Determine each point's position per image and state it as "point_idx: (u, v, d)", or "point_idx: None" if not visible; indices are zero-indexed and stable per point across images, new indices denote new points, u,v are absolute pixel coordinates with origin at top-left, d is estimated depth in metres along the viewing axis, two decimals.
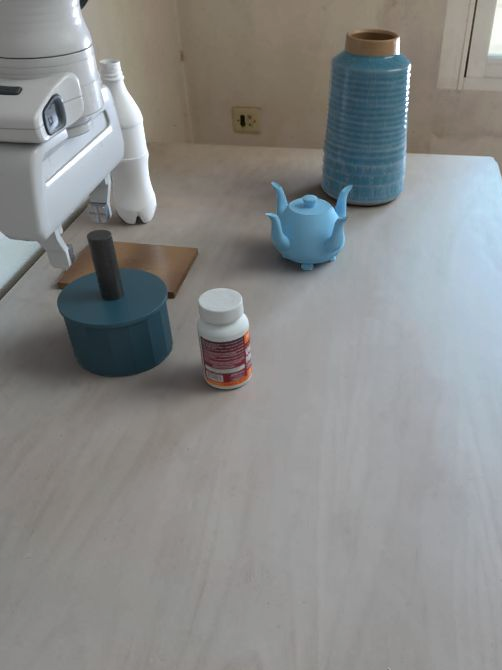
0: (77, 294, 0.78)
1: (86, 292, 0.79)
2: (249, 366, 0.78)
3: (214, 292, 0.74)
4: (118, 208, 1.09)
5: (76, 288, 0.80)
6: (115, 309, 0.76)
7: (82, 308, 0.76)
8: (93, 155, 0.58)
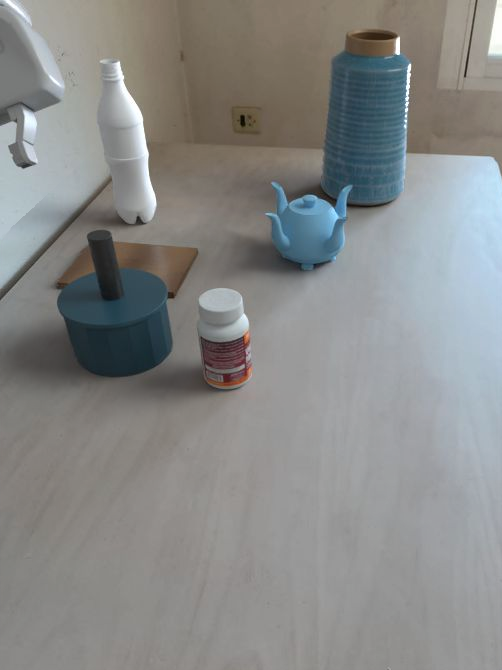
0: (77, 294, 0.78)
1: (86, 292, 0.79)
2: (249, 366, 0.78)
3: (214, 292, 0.74)
4: (118, 208, 1.09)
5: (76, 288, 0.80)
6: (115, 309, 0.76)
7: (82, 308, 0.76)
8: None
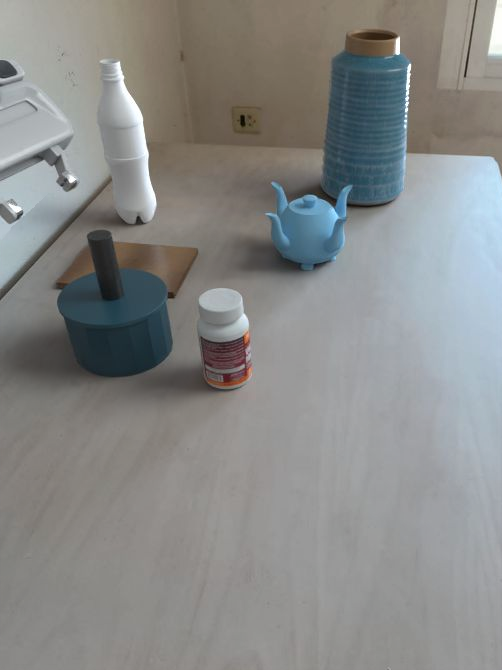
0: (77, 294, 0.78)
1: (86, 292, 0.79)
2: (249, 366, 0.78)
3: (214, 292, 0.74)
4: (118, 208, 1.09)
5: (76, 288, 0.80)
6: (115, 309, 0.76)
7: (82, 308, 0.76)
8: None
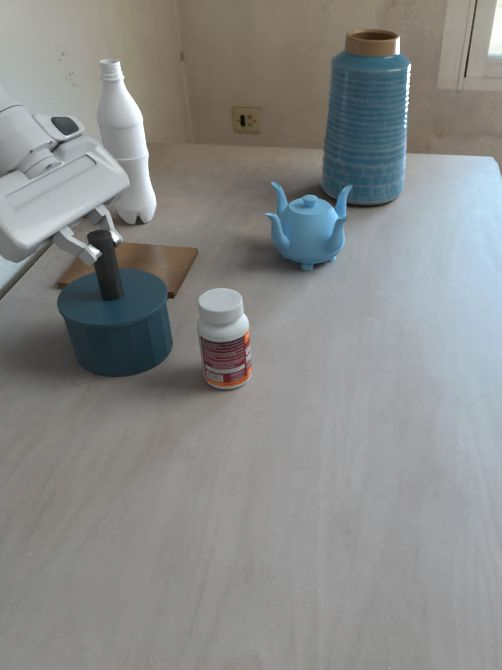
0: (77, 294, 0.78)
1: (86, 292, 0.79)
2: (249, 366, 0.78)
3: (214, 292, 0.74)
4: (118, 208, 1.09)
5: (76, 288, 0.80)
6: (115, 309, 0.76)
7: (82, 308, 0.76)
8: None
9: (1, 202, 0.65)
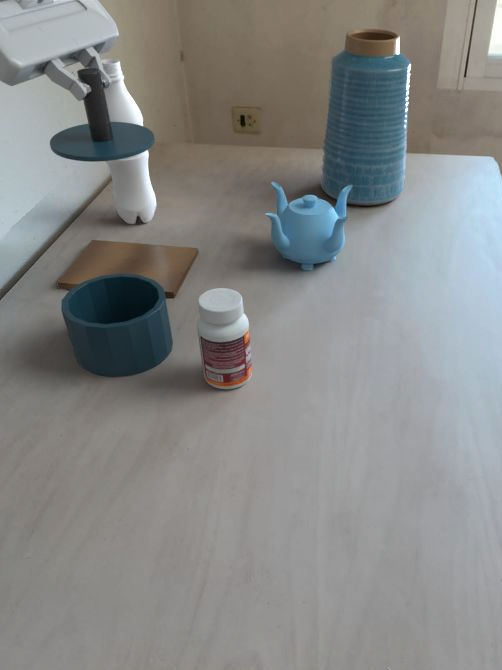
0: (68, 138, 0.83)
1: (77, 136, 0.84)
2: (249, 366, 0.78)
3: (214, 292, 0.74)
4: (118, 208, 1.09)
5: (68, 134, 0.84)
6: (104, 147, 0.81)
7: (73, 146, 0.81)
8: None
9: None
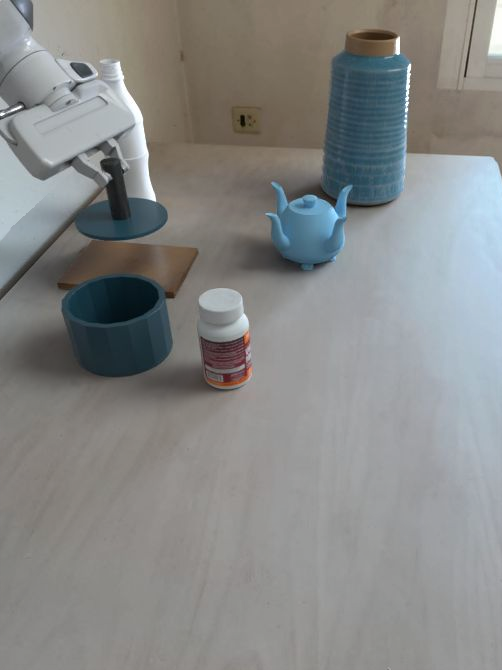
0: (91, 216, 0.93)
1: (99, 214, 0.93)
2: (249, 366, 0.78)
3: (214, 292, 0.74)
4: None
5: (90, 211, 0.94)
6: (124, 226, 0.91)
7: (96, 225, 0.91)
8: None
9: (31, 128, 0.80)
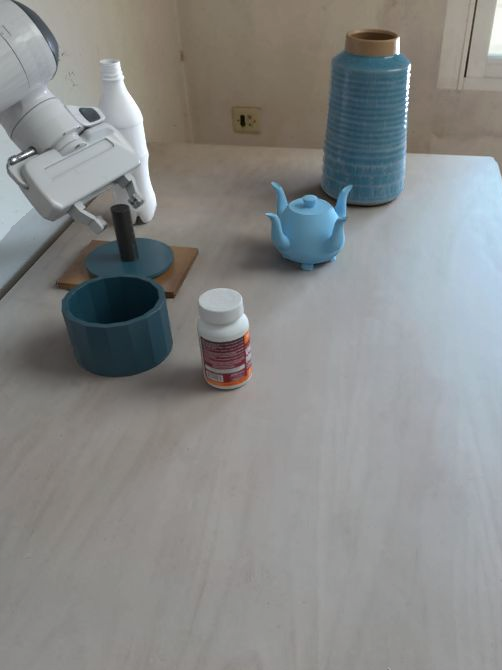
0: (101, 257, 0.97)
1: (108, 255, 0.98)
2: (249, 366, 0.78)
3: (214, 292, 0.74)
4: None
5: (100, 252, 0.99)
6: (132, 268, 0.95)
7: (105, 267, 0.95)
8: None
9: (42, 173, 0.84)
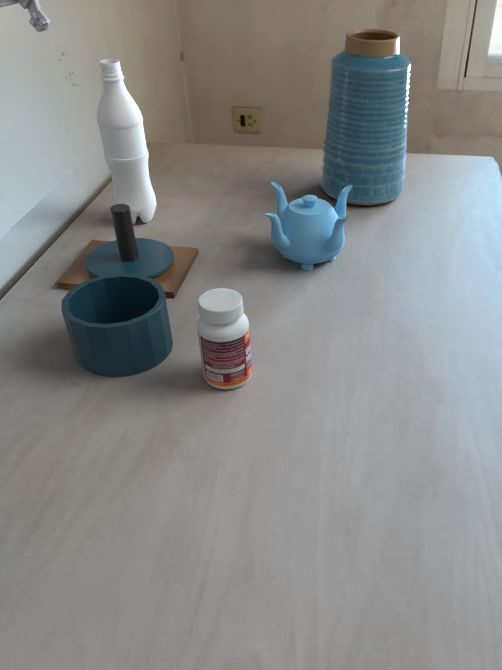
0: (101, 257, 0.97)
1: (108, 255, 0.98)
2: (249, 366, 0.78)
3: (214, 292, 0.74)
4: None
5: (100, 252, 0.99)
6: (132, 268, 0.95)
7: (105, 267, 0.95)
8: None
9: None
